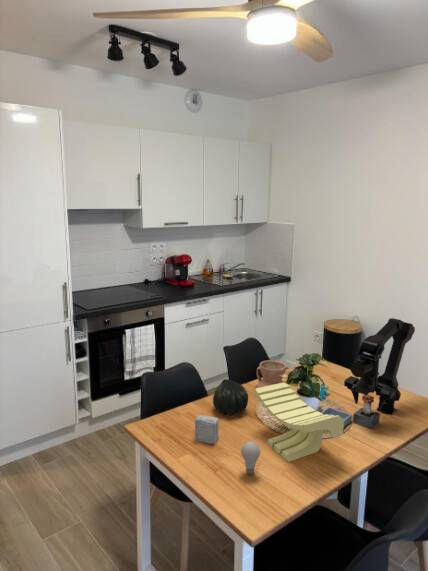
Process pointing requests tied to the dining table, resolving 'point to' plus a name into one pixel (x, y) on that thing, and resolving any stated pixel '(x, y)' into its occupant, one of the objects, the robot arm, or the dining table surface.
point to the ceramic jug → (271, 373)
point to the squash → (230, 398)
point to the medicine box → (206, 429)
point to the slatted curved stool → (296, 422)
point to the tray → (343, 415)
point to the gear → (323, 391)
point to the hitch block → (366, 419)
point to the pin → (367, 404)
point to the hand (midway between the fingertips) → (367, 407)
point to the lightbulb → (250, 455)
